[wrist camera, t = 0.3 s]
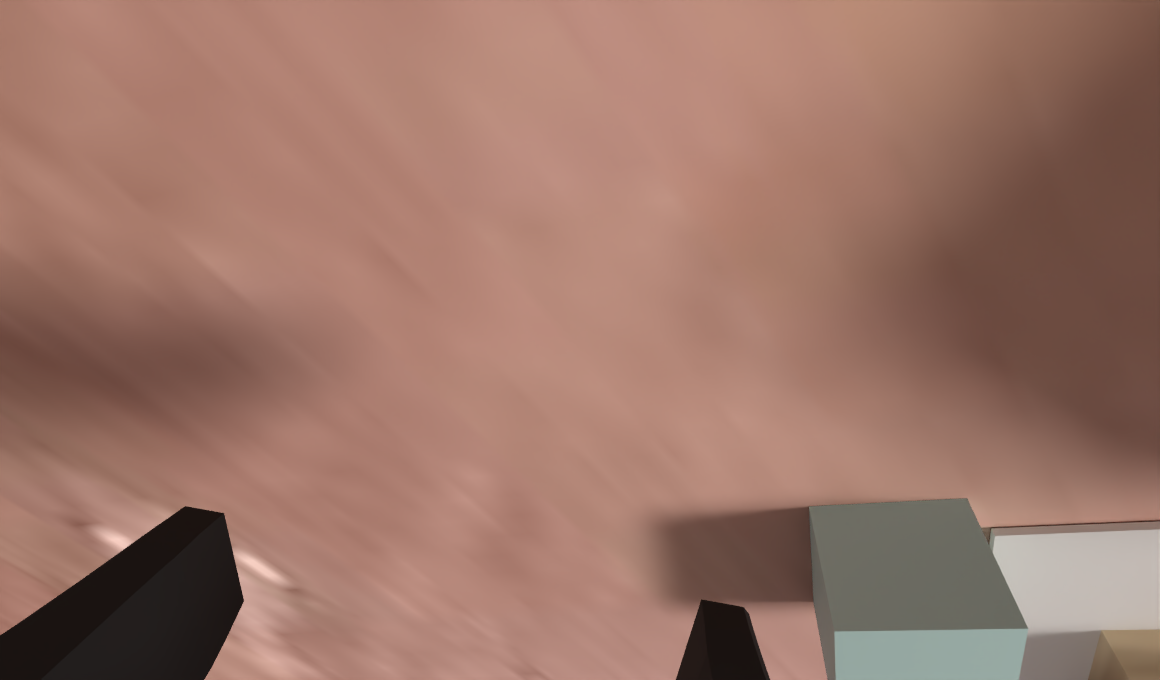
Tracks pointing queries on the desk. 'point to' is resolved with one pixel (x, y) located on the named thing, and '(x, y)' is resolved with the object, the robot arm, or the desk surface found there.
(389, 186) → the desk surface
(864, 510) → the block
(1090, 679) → the tower base
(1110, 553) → the mat
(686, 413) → the desk surface
